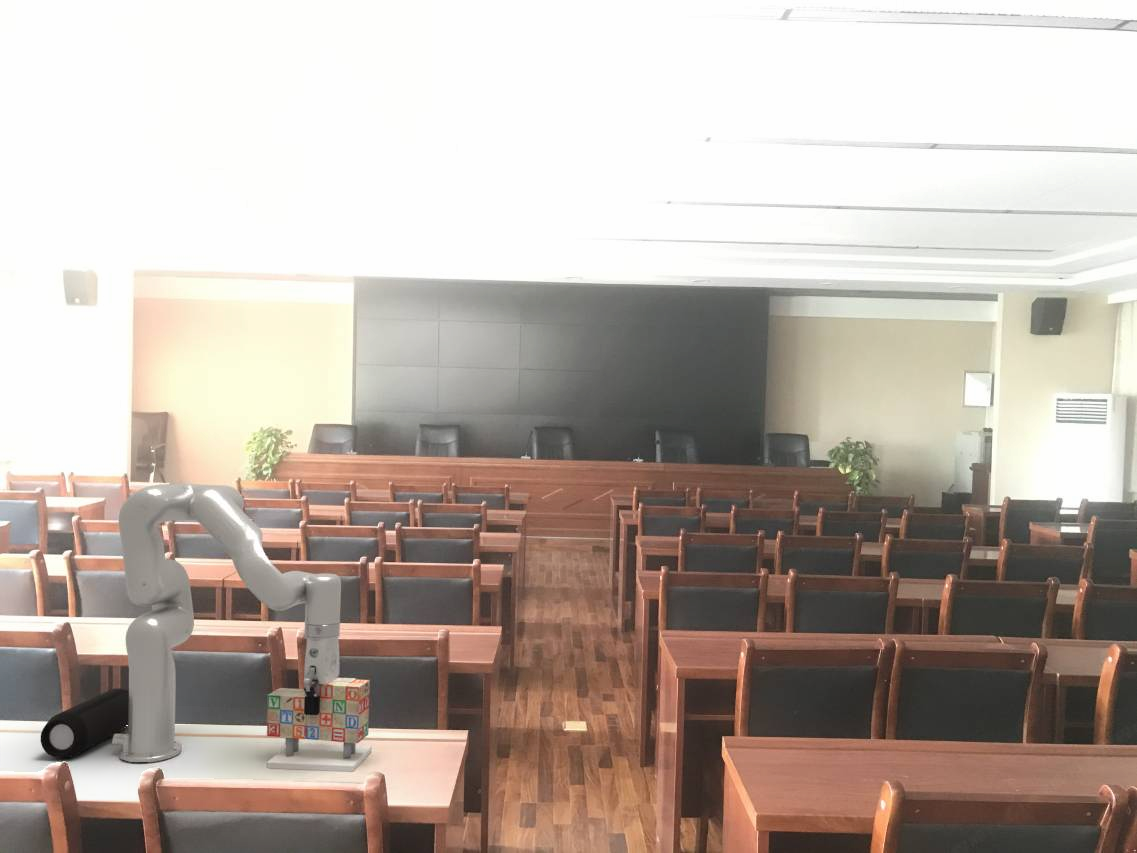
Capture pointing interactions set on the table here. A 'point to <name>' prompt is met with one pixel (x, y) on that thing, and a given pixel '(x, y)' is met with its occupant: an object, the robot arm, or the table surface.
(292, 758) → the peg board
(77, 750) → the portable speaker
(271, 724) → the stack of blocks
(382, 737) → the table surface
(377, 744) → the table surface
